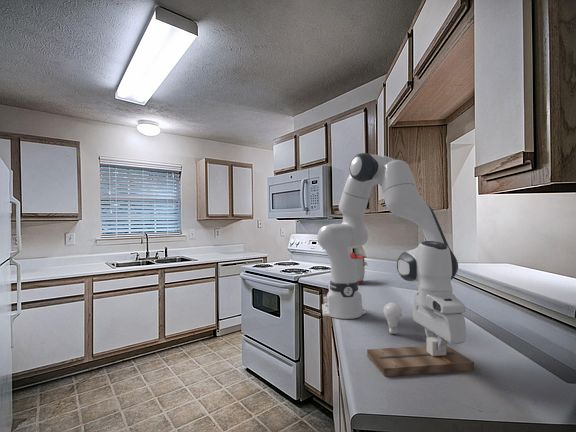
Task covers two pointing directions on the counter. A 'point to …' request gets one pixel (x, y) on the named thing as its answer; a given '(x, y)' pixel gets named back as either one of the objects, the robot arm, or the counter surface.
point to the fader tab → (433, 346)
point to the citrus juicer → (359, 266)
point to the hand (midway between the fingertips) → (436, 347)
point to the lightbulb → (392, 316)
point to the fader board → (417, 361)
